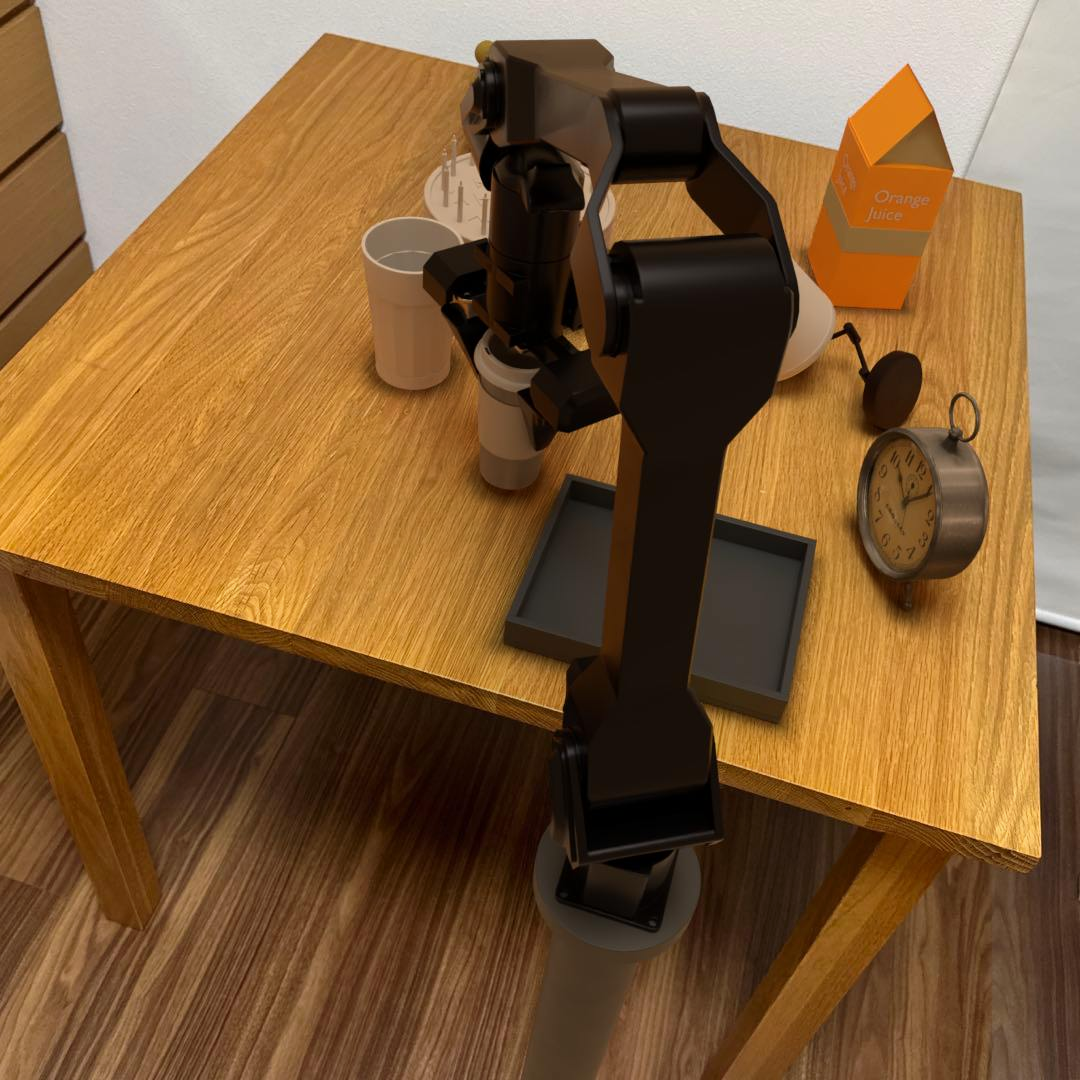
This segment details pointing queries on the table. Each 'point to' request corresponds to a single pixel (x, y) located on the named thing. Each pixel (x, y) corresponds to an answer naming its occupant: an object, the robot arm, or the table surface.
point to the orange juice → (881, 198)
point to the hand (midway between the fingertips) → (516, 421)
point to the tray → (726, 613)
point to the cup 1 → (407, 301)
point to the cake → (483, 198)
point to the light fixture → (890, 378)
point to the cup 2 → (504, 414)
